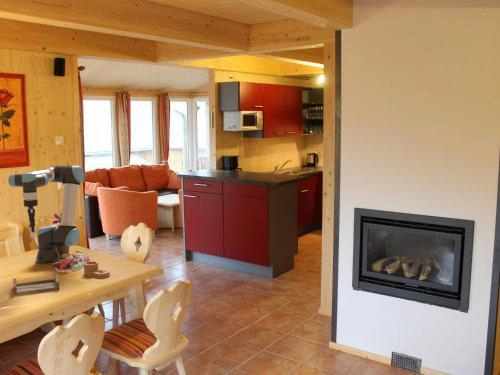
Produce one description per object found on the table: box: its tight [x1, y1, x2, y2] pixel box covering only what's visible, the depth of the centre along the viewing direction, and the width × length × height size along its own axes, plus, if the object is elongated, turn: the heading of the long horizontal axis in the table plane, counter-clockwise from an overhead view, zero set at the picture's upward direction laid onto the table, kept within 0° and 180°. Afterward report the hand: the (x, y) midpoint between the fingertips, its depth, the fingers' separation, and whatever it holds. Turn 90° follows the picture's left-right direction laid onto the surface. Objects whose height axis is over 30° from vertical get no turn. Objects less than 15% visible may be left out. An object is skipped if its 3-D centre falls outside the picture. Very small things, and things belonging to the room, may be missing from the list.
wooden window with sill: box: [12, 273, 60, 297], centre depth 277 cm, size 17×23×4 cm
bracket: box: [83, 260, 111, 279], centre depth 302 cm, size 18×8×7 cm, turn 59°
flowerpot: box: [52, 212, 70, 257], centre depth 346 cm, size 14×14×30 cm
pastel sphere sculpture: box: [52, 249, 92, 273], centre depth 320 cm, size 25×24×9 cm
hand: (32, 235), depth 292 cm, fingers open, 13 cm apart
